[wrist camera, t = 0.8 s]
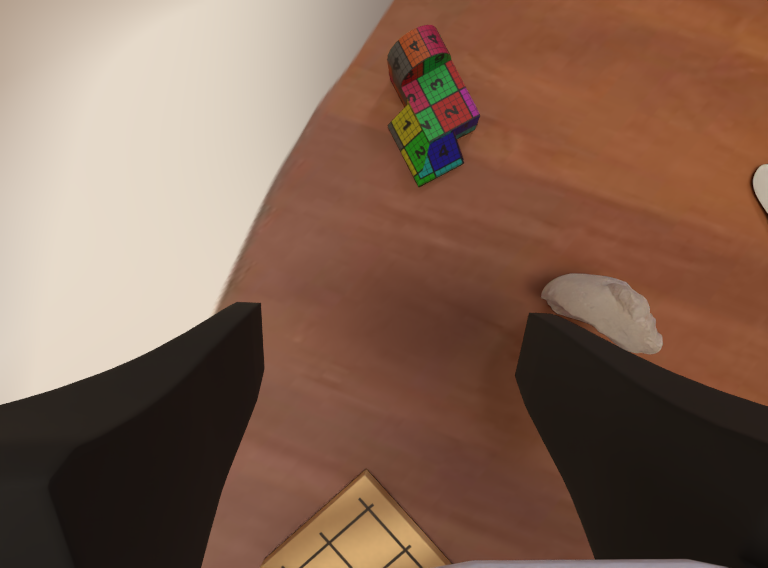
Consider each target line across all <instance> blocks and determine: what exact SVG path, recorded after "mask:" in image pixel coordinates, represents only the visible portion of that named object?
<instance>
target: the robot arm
mask: <svg viewBox="0 0 768 568" xmlns="http://www.w3.org/2000/svg"><path fill="white" fill-rule="evenodd" d="M263 373H264V352H263V334H262V316H261V303H247V302H236V303H234V304H232V305H230V306H228V307H227V308H225V309H223V310H222V311H220V312H218V313H217V314H215V315H213V316H212V317H210V318H209V319H207V320H205V321H204V322H202V323H200V324H199V325H197V326H195V327H194V328H192V329H190V330H189V331H187V332H186V333H184V334H182V335H180V336H178V337H176V338H174V339H173V340H171V341H169V342H167V343H165V344H163V345H162V346H160V347H158V348H156V349H154V350H152V351H150V352H148V353H146V354H144V355H142V356H140V357H138V358H136V359H134V360H131V361H129V362H127V363H124V364H122V365H119V366H117V367H115V368H112V369H110V370H107V371H105V372H102V373H100V374H97V375H94V376H92V377H88V378H86V379H83V380H80V381H77V382H74V383H72V384H69V385H66V386H63V387H60V388H58V389H54V390H51V391H48V392H45V393H41V394H38V395H34V396H31V397H28V398H25V399H21V400H18V401H13V402H10V403H6V404H2V405H0V568H201V566H202V562H203V558H204V554H205V550H206V547H207V543H208V539H209V535H210V531H211V528H212V524H213V521H214V517H215V514H216V510H217V506H218V503H219V499H220V496H221V492H222V489H223V487H224V484H225V481H226V478H227V475H228V473H229V470H230V467H231V465H232V462H233V460H234V457H235V455H236V452H237V450H238V447H239V445H240V442H241V440H242V437H243V435H244V432H245V430H246V427H247V425H248V422H249V420H250V417H251V415H252V412H253V409H254V407H255V404H256V402H257V398H258V394H259V390H260V386H261V382H262V377H263ZM515 377H516V380H517V383H518V386H519V389H520V393H521V395H522V398H523V401H524V404H525V406H526V408H527V410H528V413H529V415H530V417H531V418H532V420H533V422H534V424H535V426H536V428H537V430H538V432H539V434H540V436H541V438H542V440H543V442H544V444H545V446H546V447H547V449H548V451H549V453H550V455H551V457H552V459H553V461H554V463H555V465H556V466H557V468H558V470H559V472H560V474H561V476H562V478H563V480H564V482H565V484H566V486H567V489H568V491H569V493H570V495H571V497H572V500H573V503H574V505H575V508H576V510H577V513H578V515H579V518H580V520H581V523H582V525H583V528H584V530H585V533H586V536H587V538H588V541H589V544H590V547H591V549H592V552H593V555H594V558H595V560H473V561H467V562H461V563H456V564H450V565H444V566H439V567H433V568H768V406H765V405H761V404H758V403H755V402H752V401H749V400H746V399H743V398H740V397H737V396H734V395H731V394H728V393H725V392H722V391H719V390H717V389H714V388H711V387H708V386H706V385H703V384H701V383H698V382H696V381H693V380H691V379H688V378H686V377H683V376H681V375H678V374H676V373H673V372H671V371H669V370H666V369H664V368H662V367H660V366H658V365H655V364H653V363H651V362H649V361H647V360H645V359H643V358H641V357H638V356H636V355H634V354H632V353H630V352H628V351H626V350H624V349H622V348H620V347H618V346H616V345H614V344H612V343H611V342H609V341H607V340H605V339H603V338H601V337H599V336H597V335H595V334H593V333H591V332H589V331H588V330H586V329H584V328H582V327H580V326H578V325H576V324H574V323H572V322H570V321H568V320H566V319H563V318H561V317H559V316H556V315H553V314H547V313H529V316H528V320H527V325H526V329H525V334H524V338H523V342H522V347H521V351H520V356H519V360H518V364H517V369H516V373H515Z"/></svg>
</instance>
